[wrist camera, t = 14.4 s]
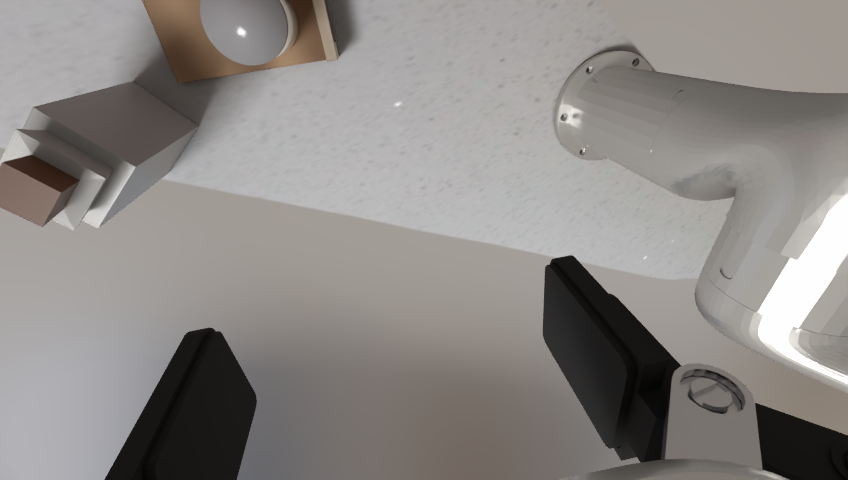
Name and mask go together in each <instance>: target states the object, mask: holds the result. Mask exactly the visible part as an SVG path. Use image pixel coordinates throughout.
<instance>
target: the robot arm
mask: <svg viewBox="0 0 848 480" xmlns="http://www.w3.org/2000/svg"><path fill="white" fill-rule="evenodd" d="M586 69H587V71H586ZM561 115H562V117H561ZM554 122H555V130H556V133H557V137H558V139H559V140H560V142H561V144H562V145H563V146H564V147H565V149H566V150H567V151H569V152H570V153H572V154H573V155H575V156H577V157H579V158H582V159H586V160H602V159H607V158H608V159H610V160H612V161H614V162H616V163H618V164H620V165H621V166H623V167H625V168H627V169H629V170H631V171H632V172H634V173H636V174H638V175H640V176H642V177H643V178H645V179H647V180H649V181H651V182H653V183H655V184H656V185H658V186H660V187H662V188H664V189H666V190H668V191H670V192H672V193H674V194H676V195H678V196H681V197H683V198H687V199H691V200H700V201H711V200H720V199H726V198H731V197H735V198H734V200H733V203H732V205H731V208H730V210H729V212H728V214H727V219H726V221H725V223H724V225H723V227H722V229H721V231H720V233H719V235H718V237H717V239H716V241H715V243H714V245H713V248H712V250H711V252H710V254H709V256H708V258H707V260H706V262H705V264H704V267H703V269H702V271H701V273H700V276H699V278H698V281H697V284H696V288H695V302H696V305H697V307H698V310H699V311H700V313H701V314H702V316H703V317H704V319H705V320H707V322H708V323H709V324H710V325H711V326H713V327H714V328H715V329H716V330H718V331H719V332H720V333H722V334H723V335H725V336H726V337H728V338H730V339H731V340H733V341H735V342H737V343H738V344H740V345H742V346H744V347H745V348H748V349H749V350H751V351H753V352H755V353H758V354H760V355H762V356H764V357H766V358H768V359H771V360H773V361H775V362H777V363H779V364H781V365H784V366H786V367H788V368H790V369H792V370H795V371H797V372H799V373H802V374H804V375H806V376H808V377H811V378H813V379H815V380H817V381H820V382H822V383H824V384H826V385H829V386H831V387H833V388H835V389H838V390H840V391H842V392H844V393H847V394H848V93H807V92H806V93H805V92H789V91H779V90H770V89H762V88H754V87H748V86H741V85H735V84H728V83H722V82H716V81H709V80H704V79H697V78H691V77H685V76H679V75H673V74H666V73H661V72H654V70H653V68H652V67H651V66H650V64H649V63H648V62H647V61H646V60H645V59H644V58H643V57H642V56H640V55H638V54H635V53H633V52H628V51H618V50H614V51H608V52H604V53H601V54H598V55H596V56H594V57H592V58H590V59H589V60H587V61H585V62H584V63H583V64H582V65H581V66H580V67H578V68H577V69H576V70H575V71H574V72H573V74H572V75H571V76H570V77H569V78H568V80H567V82H566V83H565V85H564V86H563V88H562V90H561V92H560V95H559V97H558V100H557V104H556V108H555V116H554ZM580 150H581V151H580ZM543 337H544V340H545V343H546V344H547V346H548V348H549V350H550V351H551V353H552V355H553V357H554V358H555V360H556V362H557V363H558V365H559V367H560V368H561V370H562V372H563V373H564V375H565V377H566V379H567V381H568V382H569V384H570V386H571V387H572V389H573V391H574V392H575V394H576V396H577V398H578V399H579V401H580V403H581V404H582V406H583V408H584V409H585V411H586V413H587V415H588V416H589V418H590V420H591V421H592V423H593V425H594V427H595V428H596V430H597V432H598V433H599V435H600V437H601V439H602V440H603V442H604V443H605V445H606V446H607V447H608V448H614V449H615V451H616V452H617V454H618V456H619V457H620V459H621V460H626V459H630V458H634V457H637V458H638V459H639V461H640V462H641V463H637V464H630V465H625V466H620V467H615V468H610V469H606V470H601V471H596V472H592V473H587V474H582V475H578V476H573V477H569V478H564V479H559V480H848V435H845V434H842V433H839V432H836V431H834V430H831V429H828V428H825V427H822V426H819V425H817V424H813V423H811V422H808V421H805V420H802V419H800V418H797V417H794V416H791V415H788V414H785V413H783V412H780V411H777V410H774V409H771V408H768V407H766V406H763V405H760V404H757V403H755V402H754V399H753V396H752V394H751V392H750V391H749V390H748V389H747V387H746V386H745V385H744V384H743V383H742V382H741V381H739V380H738V379H737V378H736V377H734V376H732V375H731V374H729V373H727V372H725V371H724V370H721V369H719V368H716V367H713V366H710V365H704V364H687V365H684V366H681V365H680V364H679V363H678V362H677V361H676V360H675V359H674V358H673V357H672V356H671V355H670V353H669V352H668V351H667V350H666V349H665V348H664V347H663V346H662V345H661V344H660V343H659V342H658V341H657V340H656V339H655V338H654V337H653V335H652V334H651V333H650V332H649V331H648V330H647V329H646V328H645V327H644V326H643V325H642V324H641V323H640V322H639V321H638V320H637V319H636V317H635V316H634V315H633V314H632V313H631V312H630V311H629V310H628V309H627V308H626V307H625V306H624V305H623V304H622V303H621V302H620V300H619V299H618V298H616V297H615V296H614V295H612V294H608V293H607V292H606V291H605V290H604V289H603V287H602V286H601V285H600V284H599V283H598V282H597V281H596V280H595V279H594V278H593V277H592V276H591V274H589V272H588V271H587V270H586V269H585V268H584V267H583V266H582V265H581V264H580V262H579V261H578V260H577V259H576V258H575V257H574V256H571V255H570V256H565V257H560V258H555V259H552V260H551V263H550V265H547V266H546V267H545V287H544V314H543ZM256 402H257V400H256V394H255V392H254V390H253V388H252V387H251V385H250V383H249V381H248V380H247V378H246V376H245V374H244V372H243V371H242V369H241V367H240V365H239V363H238V361H237V360H236V358H235V356H234V354H233V352H232V351H231V349H230V347H229V345H228V343H227V342H226V340H225V338H224V336H223V335H222V333H221V332H219V331H218V332H216V331H215V330H214V329H213V328H205V329H200V330H195V331H190V332H188V333H186V335H185V336H184V338H183V340H182V342H181V343H180V345H179V347H178V349H177V350H176V353H175V354H174V356H173V358H172V359H171V361H170V363H169V365H168V367H167V369H166V370H165V372H164V374H163V375H162V377H161V379H160V381H159V383H158V385H157V387H156V388H155V390H154V392H153V393H152V395H151V397H150V399H149V401H148V403H147V404H146V406H145V408H144V410H143V411H142V413H141V415H140V417H139V419H138V420H137V422H136V424H135V426H134V428H133V429H132V431H131V433H130V435H129V437H128V438H127V440H126V442H125V444H124V446H123V447H122V449H121V451H120V453H119V455H118V456H117V458H116V460H115V462H114V464H113V466H112V467H111V469H110V471H109V473H108V475H107V476H106V478H105V480H237V476H238V472H239V469H240V465H241V461H242V457H243V454H244V450H245V446H246V442H247V439H248V435H249V431H250V427H251V424H252V420H253V416H254V412H255V408H256Z"/></svg>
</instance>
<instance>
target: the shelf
mask: <svg viewBox="0 0 848 480" xmlns="http://www.w3.org/2000/svg"><path fill="white" fill-rule="evenodd" d="M142 1H143V3H144V6H145V8H146V10H147V12H148V15H149V17H150V19H151V22H152V24H153V26H154V29H155V31H156V33H157V35H158V38H159V40H160V42H161V45H162V47H163V49H164V52H165V54H166V56H167V58H168V61H169V63H170V65H171V68H172V70H173V72H174V75H175V77H176V79H177V81H178V83H184V82H191V81H197V80H203V79H209V78H216V77H222V76H228V75H234V74H241V73H247V72H253V71H259V70H266V69H272V68H278V67H284V66H291V65H297V64H303V63H309V62H315V61H322V60H327V61H333V60H338V58H339V55H338V51H337V46H336V42H337V37H336V33H335V28H334V24H333V19H332V15H331V10H330V6H329V1H328V0H289V1H290V3H291V4H292V6H293V8H294V10H295V12H296V15H297V18H298V25H299V29H298V36H297V40H296V42H295V44H294V45H293V47H292V48H291V49H290V50H289V51H288V52H286V53H285V54H283V55H280V56H278V57H276V58H274V59H273V60H271V61H269V62H267V63H264V64H261V65H244V64H240V63H237V62H235V61H233V60H231V59H229V58H227V57H226V56H225V55H223V54H222V53H221V52H220V51H219V50H218V49H217V48H216V47H215V46H214V45H213V44H212V42H211V41H210V40H209V38H208V36H207V34H206V32H205V30H204V28H203V25H202V21H201V16H200V3H201V0H142Z"/></svg>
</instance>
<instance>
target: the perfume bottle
mask: <svg viewBox="0 0 848 480" xmlns="http://www.w3.org/2000/svg"><path fill="white" fill-rule="evenodd" d="M198 127H199V126H198V125H196V124H195V123H193V122H192V121H190V120H189V119H187V118H186V117H184V116H183V115H181V114H180V113H178V112H177V111H175V110H174V109H173V108H171V107H170V106H168V105H167V104H165V103H164V102H162V101H161V100H159V99H158V98H156V97H155V96H153V95H152V94H150V93H149V92H147V91H146V90H144V89H143V88H141V87H140V86H138V85H137V84H135V83H134V82H129V83H125V84H121V85H117V86H113V87H109V88H106V89H102V90H98V91H94V92H90V93H86V94H82V95H78V96H75V97H71V98H67V99H63V100H59V101H55V102H51V103H47V104H44V105H40V106H36V107H33V108H32V110H31V112H30V114H29V116H28V118H27V121H26V123H25V125H24V127H23V129H16V130H15V132H14V134H13V136H12V138H11V140H10V142H9V144H8V146H7V148H6V150H5V153H4V155H3V157H2V159H1V161H0V207H1V208H3V209H5V210H7V211H9V212H11V213H14V214H16V215H18V216H20V217H22V218H24V219H26V220H28V221H31V222H33V223H35V224H37V225H39V226H41V227H43V226H44V225H45V224H46V223H48V222H49V221H50V220H53V221H55V222H57V223H59V224H61V225H63V226H65V227H67V228H69V229H71V230H73V231H75V230H76V228H77V226H78V225H79V224H80V222H81V221H84V222H86V223H88V224H90V225H92V226H94V227H96V228H99V227H100V226H102V225H103V224H104V223H105V222H107V221H108V220H109V219H111V218H112V217H113V216H114V215H116V214H117V213H118V212H119V211H121V210H122V209H123V208H125V207H126V206H127V205H128V204H129V203H131V202H132V201H133V200H134V199H136V198H137V197H138V196H140V195H141V194H142V193H143V192H145V191H146V190H147V189H149V188H150V187H151V186H152V185H154V184H155V183H156V182H157V181H159V180H160V179H161V178H163V177H164V176H165V175H166V174H168V173H169V171H170V170H171V168H172V167H173V165H174V164H175V162H176V161H177V159H178V158H179V156H180V155H181V153H182V152H183V150H184V148H185V147H186V145H187V144H188V142H189V141H190V139H191V138H192V136H193V135H194V133H195V132H196V130H197V129H198Z"/></svg>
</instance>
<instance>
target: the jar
mask: <svg viewBox="0 0 848 480" xmlns="http://www.w3.org/2000/svg"><path fill="white" fill-rule="evenodd" d="M200 16H201V21H202V25H203V28H204V30H205V32H206V34H207V36H208V38H209V40H210V41H211V42H212V44H213V45H214V46H215V47H216V48H217V49H218V50H219V51H220V52H221V53H222V54H223V55H225V56H226V57H227V58H229V59H231V60H233V61H235V62H237V63H240V64H244V65H261V64H264V63H267V62H269V61H271V60H273V59H274V58H276V57H278V56H280V55H283V54H285V53H286V52H288V51H289V50H290V49H291V48H292V47H293V45H294V44H295V42H296V40H297V36H298V29H299V25H298V18H297V15H296V12H295V10H294V8H293V6H292V4H291V3H290V1H289V0H201V3H200Z"/></svg>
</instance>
